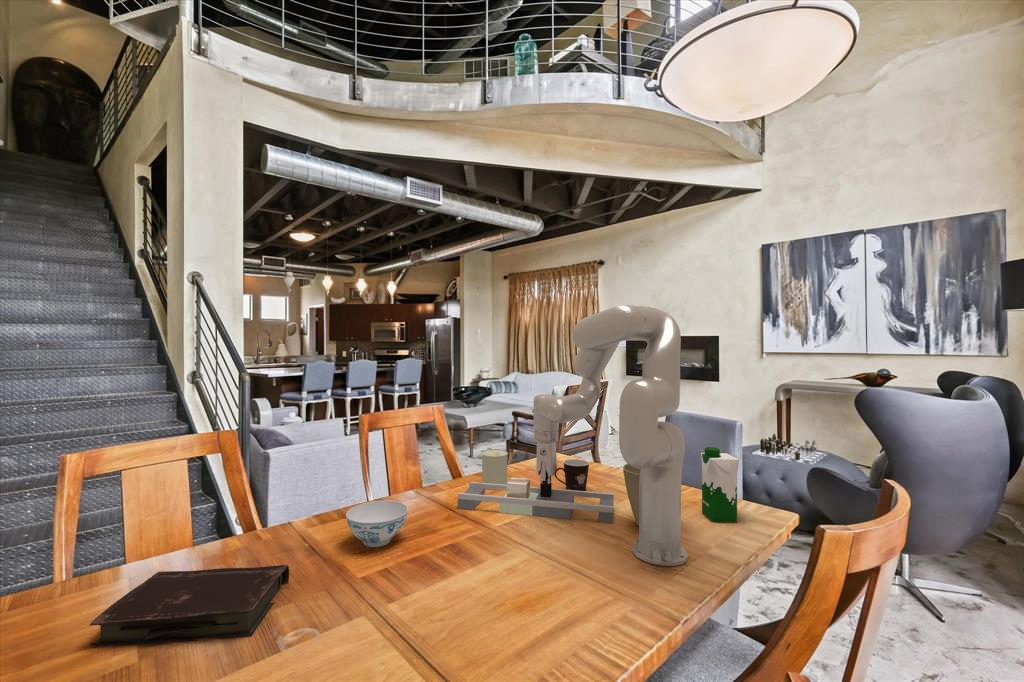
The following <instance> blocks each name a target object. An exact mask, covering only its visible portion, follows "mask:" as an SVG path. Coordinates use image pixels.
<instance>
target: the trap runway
mask: <svg viewBox="0 0 1024 682" xmlns="http://www.w3.org/2000/svg"><path fill="white" fill-rule="evenodd" d="M468 486H469V487H468V488H467V489H466V490H464V492H458V493H457V509H458V510H459V509H460V510H469V511H474V510H475V509H476V508H477V507H478V506H479V504H480V503H481V502H489V503H499V504H498V505H499V507H498V508H499V509H498V513H500V514H509V515H510V514H511V515H519V516H520V515H521V516H530V517H541V518H550V519H551V518H552V519H560V520H561V519H562V520H571V518H572V513H573V511H574V510H578V511H589V512H590V511H591V512H598V523H602V522H604V523H603V524H612V523H613V524H614V509H615V508H614V504H615V503H614V499H615V498H614V496H615V494H614V493H611V492H610V493H609V492H597V491H576V490H566V489H561V488H552V495H551V497H541V496H540V487H537V486H530V496H529V497H528V499H525V498H513V497H507V485H502V484H490V483H482V482H475V481H474V482H473V481H470V482H469V485H468ZM490 489H494V491H495V490H497V491H506V492H505V494H504V495H503V496H501V495H488V494H486V490H490ZM575 497H580V498H588V499H589V498H591V499H600V500H599V504H593V503H592V504H591V503H581V502H580V503H578V502H575Z"/></svg>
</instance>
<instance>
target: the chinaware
mask: <svg viewBox="0 0 1024 682" xmlns="http://www.w3.org/2000/svg"><path fill="white" fill-rule="evenodd" d="M408 512H409V507H408V505H407V504H405V503H403V502H400V501H397V500H396V501H395V500H386V499H385V500H374V501H368V502H363V503H360V504H358V505H355V506H353V507H351V508H349V509H348V510H347V511H346V513H345V518H346V522H347V525H348V528H349V529H350V532H351V533H352V534H353V535H354V536H355V537H356V538H357V539H359V541H361V542H363V545H364V546H365V547H370V548H380V547H384V546H386V545H388V544H390V542H391V541H392V539H393V537H395V536H396V535H397V534H398V533H399V532H400V531H401V529H402V528H403V526H404V524H405V522H406V520H407V515H408Z"/></svg>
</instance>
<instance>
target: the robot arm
mask: <svg viewBox="0 0 1024 682" xmlns="http://www.w3.org/2000/svg"><path fill="white" fill-rule="evenodd" d="M681 338H682V336H681V330H680V326H679V324H678V323H677V321H676V319H675V318H673V316H672V315H670V314H669V313H668V312H665V311H664V310H662V309H659V308H655V307H651V306H646V305H645V306H643V305H633V304H632V305H631V304H621V305H616V306H612V307H609V308H607V309H604V310H602V311H599V312H597V313H596V312H595V313H594V314H591V315H588V316H586V317H583V318H582V319H581V320H579V321H578V322H577V323H576V324H575V326H574V328H573V330H572V341H573V343H574V345H575V346H576V347H577V348H578V352H577V354H576V356H575V358H574V360H573V361H572V369H573V370H574V371H575V372H576V374H577V375H579V377H581V378H582V380H581V383H580V385H579V387H578V388H577V390H576V392H575V394H571V395H570V394H569V395H562V396H557V395H555V394H551V393H548V394H547V393H542V394H537V395H535V396H534V398H533V441H534V442H535V443H536V475H537V476H540V479H539V480H540V484H539V486H540V487H539V488H540V496H541V497H551V495H552V489H553V488H552V487H553V486H552V477H553V476H555V475H554V473H555V471H556V469H557V468H558V466H557V461H558V459H557V442H559V424H563V423H569V422H574V421H582V420H584V419H585V418H586V417H588V416H589V414H591V412H592V411H593V409H594V407H595V405H596V404H597V403H598V401H599V398H600V396H601V389H602V382H601V377H602V374H603V372H604V371H605V369H606V368H607V365H608V364H609V363H610V361H611V359H612V357H613V356H614V353H615V352H616V350H617V349H618V346H619V345H620V343H621V342H623V341H630V342H631V341H644V342H646V343H647V346H646V348H645V350H644V353H643V357H642V376H641V378H636V379H633V380H631V381H629V382H628V383H627V384H626V385H625V386H624V388H623V389H622V391H621V393H620V398H619V406H618V407H619V411H618V412H619V414H618V415H619V417H618V418H619V419H618V426H619V427H618V431H619V432H618V440H619V441H618V442H619V445H618V446H619V451H620V453H621V454H620V455H621V457H622V458H623V461H625V462H626V464H627V463H628V464H629V465H630V466H632V467H634V468H637V469H641V471H640V481H639V527H638V540H636V541H634V542H633V544H632V545H631V547H632V548H631V551H632V553H633V554H634V556H635V557H636V558H638V559H639V560H640V561H643V562H645V563H647V564H651V565H656V566H660V567H677V566H681V565H683V564H684V563H686V562H687V560H688V557H689V556H688V551H687V549H686V548H685V547H683V546H682V545H681V544H682V543H681V541H682V539H681V538H682V536H681V535H682V533H681V532H682V531H681V529H682V528H681V526H682V525H681V523H682V522H681V521H682V517H681V516H682V510H681V509H682V472H683V471H682V470H683V464H684V459H685V452H686V441H685V437H684V434H683V431H682V430H680V428H679V427H678V426H676V425H675V424H674V423H671V422H668V421H662V420H661V421H660V420H659V418H663V417H667V416H670V415H673V414H674V413H675V412H676V411H678V409H679V406H680V403H681V360H680V359H681V345H682V344H681V343H682V341H681Z"/></svg>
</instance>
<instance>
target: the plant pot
mask: <svg viewBox="0 0 1024 682" xmlns="http://www.w3.org/2000/svg"><path fill="white" fill-rule="evenodd" d="M622 471H623V476H624V483H625V489H626V492H627V497H628V501H629V505H630V508H631V511H632V515H633V517H634V520H635V522H636V523H635V524H636V526H637V527H638V526H639V481H640V471H641V469H637V468H634V467H632V466H630V465H629V464H628V463H627V462H626V463H625V464H623V465H622Z"/></svg>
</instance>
